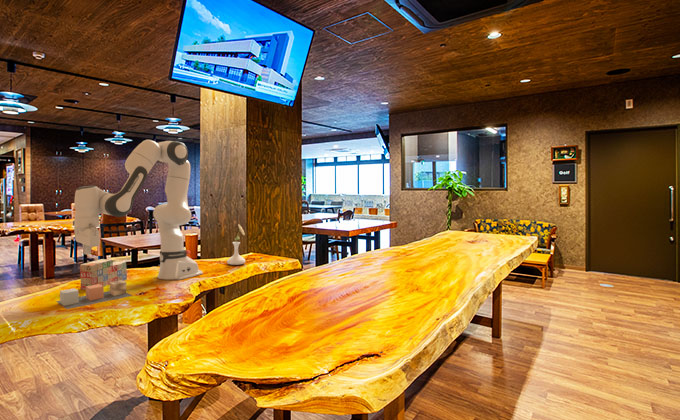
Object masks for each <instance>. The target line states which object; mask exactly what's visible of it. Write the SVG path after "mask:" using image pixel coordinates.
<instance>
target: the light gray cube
mask: <svg viewBox="0 0 680 420" xmlns="http://www.w3.org/2000/svg"><path fill="white" fill-rule="evenodd" d="M79 293H80V292H79V290H78V289H76V288H70V289H68V288H67V289H64V290H63V289H62V290H59V301H60V303H61V304H62V305H64V306H65V305H70V304H75V303H79V297H80V295H79ZM62 305H61V306H62Z"/></svg>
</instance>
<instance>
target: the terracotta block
mask: <svg viewBox="0 0 680 420" xmlns="http://www.w3.org/2000/svg"><path fill="white" fill-rule="evenodd" d="M104 292H105V291H104V287H103V286H102V285H100V284H97V285H91V286H86V290H85V296H86V298H87V299H89V300H95V299H100V298H104Z"/></svg>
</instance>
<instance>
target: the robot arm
mask: <svg viewBox="0 0 680 420" xmlns="http://www.w3.org/2000/svg"><path fill="white" fill-rule="evenodd" d="M188 159H189V151H188V147H187V145H186V144H185V143H184V142H181V141H177V140H165V141H158V142H156V141H154V140H152V139H145V140H143V141H142V142H141V143H139V144H138V145H137V146H136V147H135V148H134V149H133V150H132V151H131V153H130V154H129V155H128V157H127V158H126V160H125V163H124V167H125V170H126V171H127V173H128V174H129V175H128V178H127V180H126V181H125V183H124V184H123V186H122V188H121V189H120V191H118V192H116V193H110V192H108V191H105V190H102V189H101V188H100V187H98V186H97V185H84V186H83V185H82V186H79V187H78V188H76V190H75V194H74V209H75V213H74V220H72V226H73V231H74V238H75V241H76V243H80V244H82V249H83V254H84V255H87V256H90V255H91V254H92V248H93V247H99V246H100V244H101V239H100V238H101V235H100V230H99V229H98V228H99V227H100V214H103V215H107V216H113V217H115V218H122V217H125V216H127V215H129V213H130V212H131V211H132V209H133V204H134V201H135V199H136V197H137V195H138V193H139V191H140V190H141V188H142V187H143V185H144V183H145V182H146V179H147V177H148V174H149V173H150V171H151V170H152V168H153V167H154V166H155V165H156V162H158V163H166V164H167V166H168V170H167V171H168V173H167V176H166V181H165V186H164V187H165V188H164V193H165V194H166V200H167V203H161V204H158V205H156V206H155V208H154V209H153V211H152V215H153V218H154V219H155V220H156V224H157V227H158V228H157V229H158V231H159V237H160V250H159V263H160V266H159V269H158V270H159V271H158V275H157V278H158V280H159V279H160V280H184V279H189V278H192V277H195V276H199V275H203V274H204V273H203V271H202V270H201V269H199V266H198V263H197V262H196V261H195V260H194V259H192V258H191V257H189V256H188V255H190V254H191V251H190V250H188V249H185V248H184V233H182V231H181V228H180V226H183V225H186V224H188V223H189V222H190V221H191V219H192V211H191V209H190V208H189V207H190V206H189V202H188V201H189V200H188V192H189V186H190V185H189V184H190V180H191V163H190V161H189V160H188Z"/></svg>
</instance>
